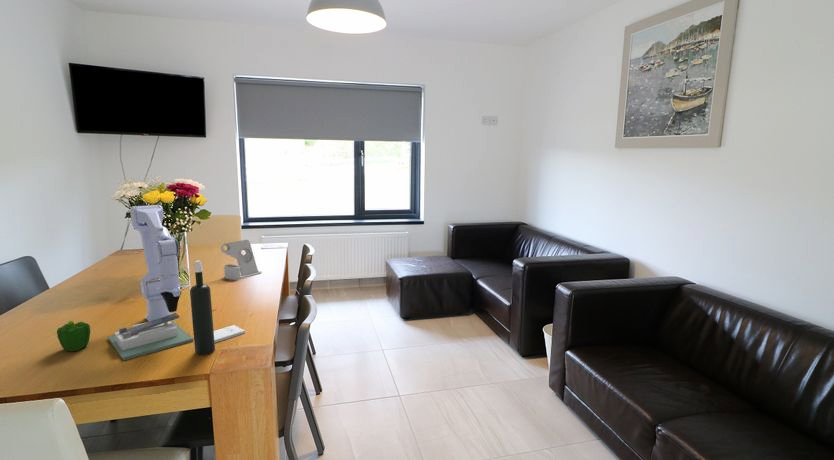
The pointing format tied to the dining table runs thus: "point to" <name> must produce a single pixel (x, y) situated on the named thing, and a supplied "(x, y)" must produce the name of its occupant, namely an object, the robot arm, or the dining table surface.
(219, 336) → the external hard drive
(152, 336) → the green base plate
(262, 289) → the dining table surface
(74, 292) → the dining table surface
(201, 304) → the wine bottle
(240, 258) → the phone holder
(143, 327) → the strap
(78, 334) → the bell pepper
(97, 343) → the dining table surface
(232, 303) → the dining table surface
